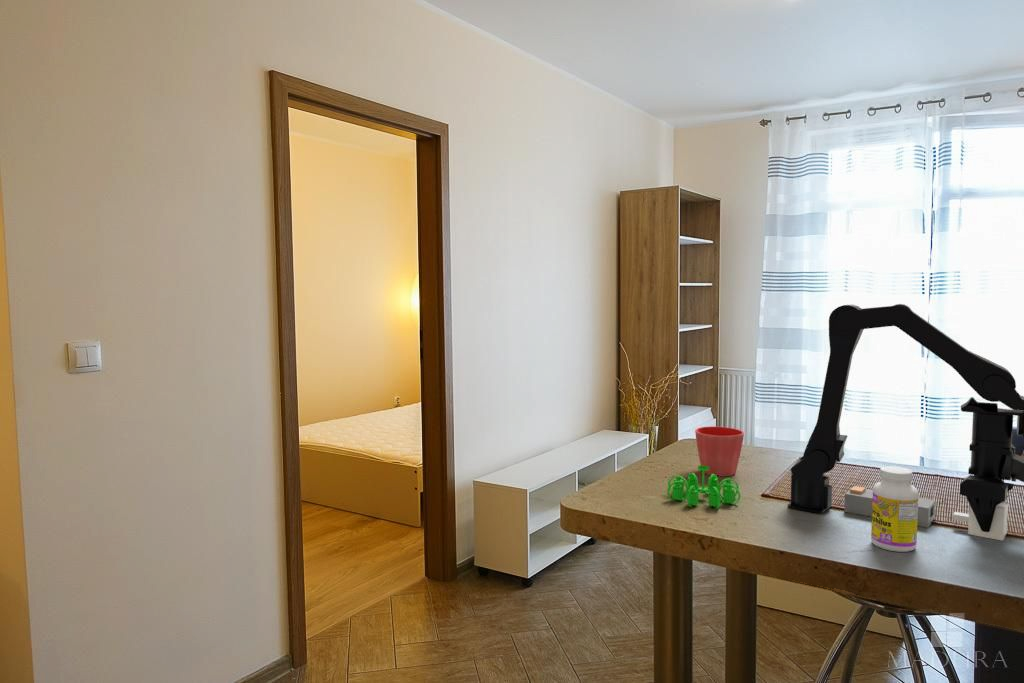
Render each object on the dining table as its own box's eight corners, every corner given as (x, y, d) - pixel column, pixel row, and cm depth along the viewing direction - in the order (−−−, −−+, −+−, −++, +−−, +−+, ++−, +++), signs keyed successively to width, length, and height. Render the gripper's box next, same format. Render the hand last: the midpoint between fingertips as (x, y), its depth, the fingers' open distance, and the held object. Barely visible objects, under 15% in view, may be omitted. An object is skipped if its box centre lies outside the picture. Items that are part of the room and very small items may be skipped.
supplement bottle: (862, 539, 120) (865, 465, 119) (899, 538, 121) (902, 464, 120) (886, 554, 113) (889, 475, 112) (925, 552, 114) (928, 474, 113)
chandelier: (752, 497, 145) (752, 464, 144) (725, 516, 133) (726, 480, 132) (683, 486, 154) (683, 454, 153) (652, 503, 142) (653, 469, 141)
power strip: (844, 511, 135) (845, 490, 134) (853, 504, 139) (854, 483, 139) (928, 527, 126) (928, 505, 125) (934, 519, 130) (935, 497, 130)
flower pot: (749, 477, 159) (750, 435, 158) (701, 478, 159) (701, 435, 159) (735, 466, 170) (736, 426, 169) (689, 466, 170) (690, 426, 169)
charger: (950, 530, 124) (952, 500, 124) (955, 523, 128) (956, 493, 127) (1003, 540, 119) (1004, 508, 119) (1006, 533, 123) (1008, 502, 122)
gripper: (1045, 456, 109) (1040, 554, 110) (1054, 436, 123) (1050, 523, 124) (961, 445, 116) (957, 538, 117) (978, 428, 130) (975, 511, 131)
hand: (987, 527), depth 122 cm, fingers closed on charger, 5 cm apart
